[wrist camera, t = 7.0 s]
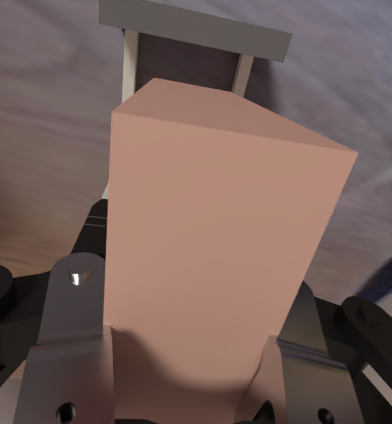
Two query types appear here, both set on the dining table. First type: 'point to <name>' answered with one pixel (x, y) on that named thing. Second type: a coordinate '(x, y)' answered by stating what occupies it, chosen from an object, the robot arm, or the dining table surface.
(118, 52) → the dining table surface
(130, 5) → the stand
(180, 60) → the dining table surface
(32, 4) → the dining table surface
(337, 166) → the pink rectangular block
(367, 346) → the robot arm
